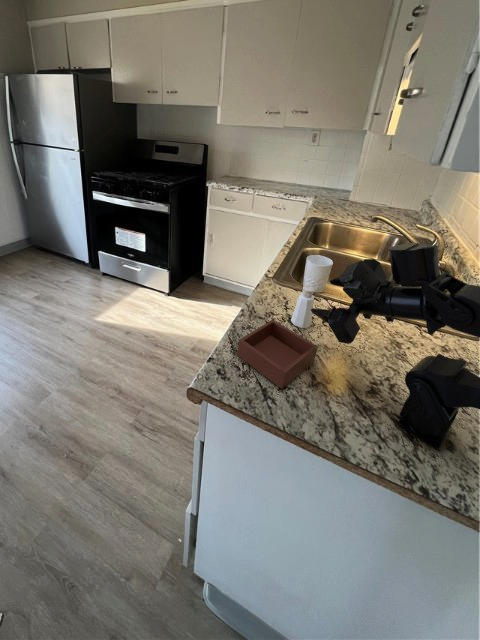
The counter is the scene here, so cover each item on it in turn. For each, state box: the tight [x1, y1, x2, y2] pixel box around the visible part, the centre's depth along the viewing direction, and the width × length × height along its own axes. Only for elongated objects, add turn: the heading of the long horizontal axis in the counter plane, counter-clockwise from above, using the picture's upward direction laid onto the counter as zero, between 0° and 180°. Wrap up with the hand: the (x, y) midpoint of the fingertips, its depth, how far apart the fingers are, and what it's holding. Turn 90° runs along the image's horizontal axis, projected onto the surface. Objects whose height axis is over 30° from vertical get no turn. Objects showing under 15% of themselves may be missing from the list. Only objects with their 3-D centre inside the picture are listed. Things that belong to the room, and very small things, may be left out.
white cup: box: [302, 254, 334, 293], centre depth 101 cm, size 8×8×10 cm
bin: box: [236, 319, 319, 390], centre depth 72 cm, size 13×13×5 cm
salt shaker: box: [290, 286, 315, 329], centre depth 84 cm, size 5×5×11 cm
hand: (321, 296), depth 70 cm, fingers open, 9 cm apart
